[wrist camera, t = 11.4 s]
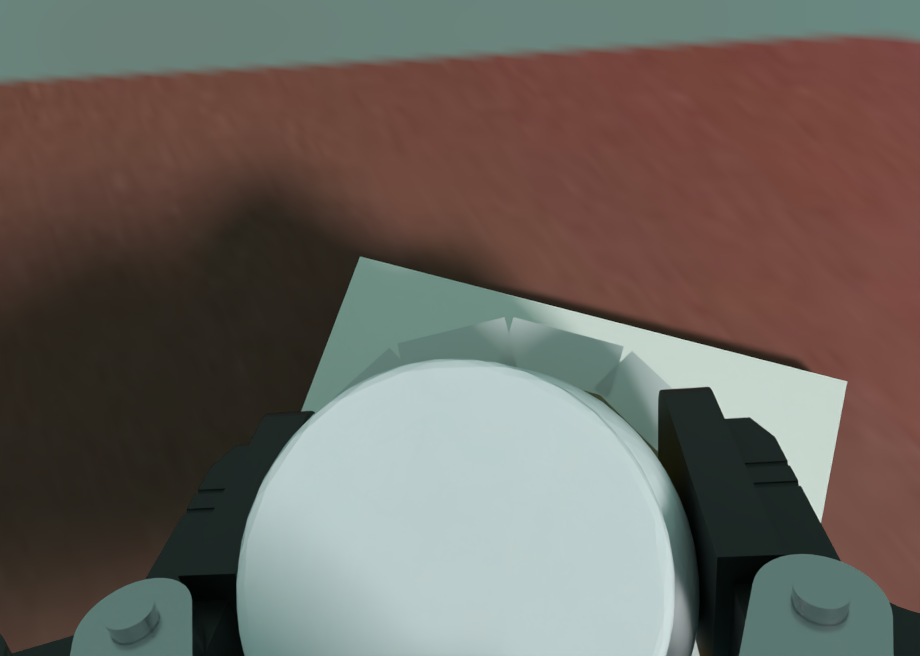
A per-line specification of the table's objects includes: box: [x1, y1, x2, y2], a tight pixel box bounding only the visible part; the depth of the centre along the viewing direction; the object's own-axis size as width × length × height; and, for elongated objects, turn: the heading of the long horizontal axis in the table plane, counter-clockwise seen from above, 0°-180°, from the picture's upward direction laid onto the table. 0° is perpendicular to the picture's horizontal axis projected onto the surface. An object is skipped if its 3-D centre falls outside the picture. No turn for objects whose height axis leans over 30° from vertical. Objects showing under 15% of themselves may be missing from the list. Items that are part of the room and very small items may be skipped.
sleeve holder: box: [301, 257, 847, 656], centre depth 15 cm, size 12×12×5 cm
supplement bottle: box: [236, 359, 700, 656], centre depth 11 cm, size 5×5×10 cm
